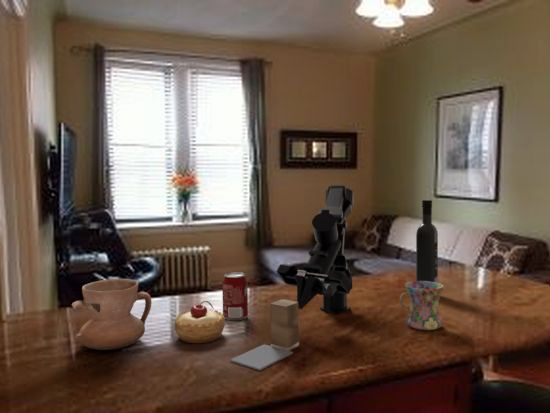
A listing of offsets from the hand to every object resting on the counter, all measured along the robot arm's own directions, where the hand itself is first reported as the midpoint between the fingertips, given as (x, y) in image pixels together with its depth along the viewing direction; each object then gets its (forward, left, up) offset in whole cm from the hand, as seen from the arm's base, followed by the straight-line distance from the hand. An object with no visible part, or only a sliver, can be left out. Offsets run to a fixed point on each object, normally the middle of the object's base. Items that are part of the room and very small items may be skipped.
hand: (299, 308), depth 110 cm
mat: (+13, +2, -7) cm, 15 cm away
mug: (-28, +15, -8) cm, 32 cm away
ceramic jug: (+32, -28, -8) cm, 44 cm away
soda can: (0, -24, -8) cm, 25 cm away
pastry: (+16, -18, -8) cm, 25 cm away
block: (+5, +1, -8) cm, 9 cm away
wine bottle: (-57, 0, -8) cm, 57 cm away
